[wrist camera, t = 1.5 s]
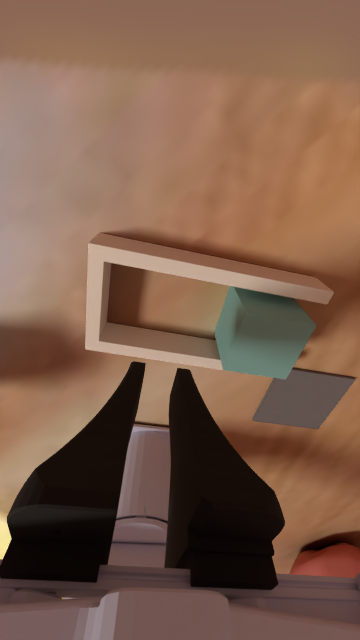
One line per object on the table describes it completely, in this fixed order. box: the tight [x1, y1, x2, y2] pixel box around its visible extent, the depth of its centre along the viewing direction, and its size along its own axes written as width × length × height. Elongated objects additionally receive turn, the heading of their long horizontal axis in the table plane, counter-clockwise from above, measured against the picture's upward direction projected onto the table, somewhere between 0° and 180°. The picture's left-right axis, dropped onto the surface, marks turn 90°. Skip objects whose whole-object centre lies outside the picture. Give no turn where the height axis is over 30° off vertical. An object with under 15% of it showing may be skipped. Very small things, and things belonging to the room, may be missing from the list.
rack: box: [85, 233, 334, 377], centre depth 21 cm, size 8×17×3 cm, turn 78°
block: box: [214, 286, 317, 380], centre depth 20 cm, size 5×5×5 cm
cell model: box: [290, 543, 360, 578], centre depth 45 cm, size 17×20×11 cm
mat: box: [253, 368, 355, 429], centre depth 28 cm, size 8×8×1 cm
